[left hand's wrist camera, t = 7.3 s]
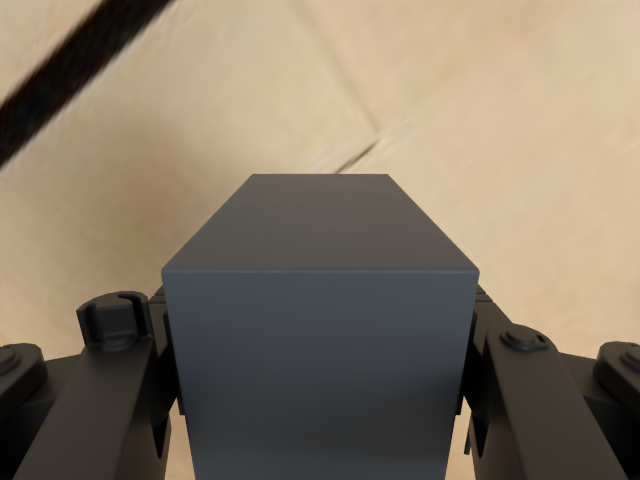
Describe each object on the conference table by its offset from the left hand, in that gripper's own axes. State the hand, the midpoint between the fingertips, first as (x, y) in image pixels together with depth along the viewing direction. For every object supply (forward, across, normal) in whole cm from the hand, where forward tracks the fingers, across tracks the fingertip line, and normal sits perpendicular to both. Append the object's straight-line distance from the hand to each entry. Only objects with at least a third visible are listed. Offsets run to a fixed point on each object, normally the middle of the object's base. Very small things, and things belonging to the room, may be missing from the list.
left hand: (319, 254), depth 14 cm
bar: (+1, 0, -8) cm, 8 cm away
